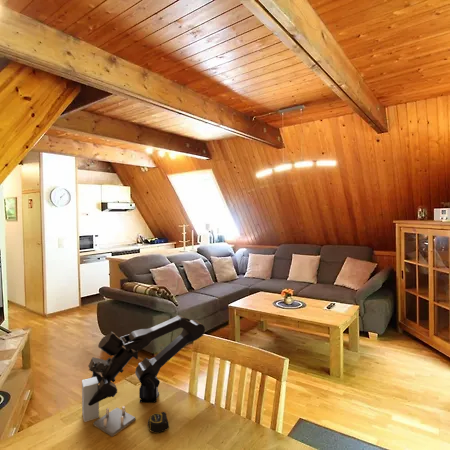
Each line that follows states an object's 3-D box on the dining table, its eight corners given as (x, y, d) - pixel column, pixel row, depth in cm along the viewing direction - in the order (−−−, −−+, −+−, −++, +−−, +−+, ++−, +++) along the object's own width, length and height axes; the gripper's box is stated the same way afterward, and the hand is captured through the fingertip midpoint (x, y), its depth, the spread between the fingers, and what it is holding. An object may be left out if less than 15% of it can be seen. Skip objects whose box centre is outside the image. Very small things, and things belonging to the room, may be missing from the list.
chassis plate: (117, 409, 121) (116, 400, 121) (135, 419, 116) (135, 410, 116) (93, 425, 113) (93, 415, 113) (112, 436, 108) (112, 426, 107)
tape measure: (169, 432, 110) (169, 422, 110) (148, 436, 108) (148, 426, 108) (166, 419, 117) (166, 409, 116) (147, 423, 114) (147, 413, 114)
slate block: (96, 409, 121) (96, 376, 120) (99, 417, 117) (98, 383, 116) (82, 413, 119) (81, 380, 118) (84, 422, 114) (83, 386, 114)
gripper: (98, 340, 126) (67, 374, 122) (107, 361, 110) (72, 401, 106) (119, 355, 131) (90, 389, 126) (130, 377, 115) (97, 416, 110)
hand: (87, 398), depth 117 cm, fingers open, 9 cm apart
